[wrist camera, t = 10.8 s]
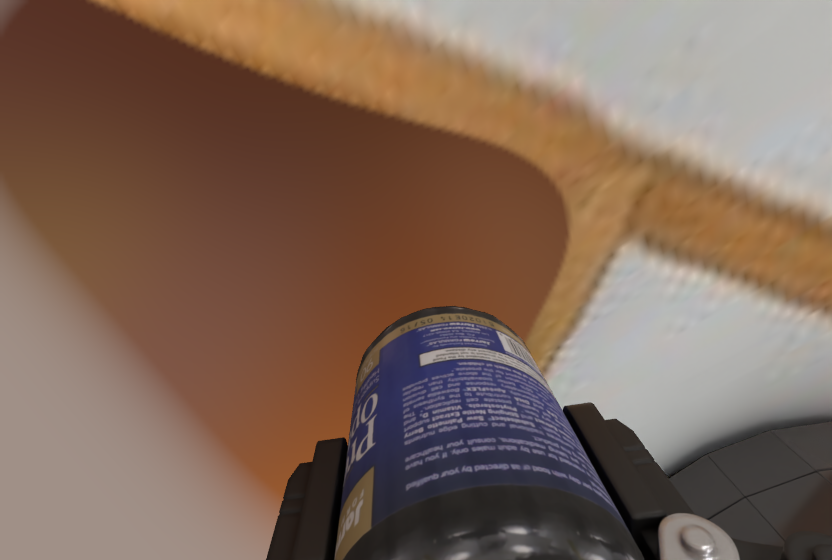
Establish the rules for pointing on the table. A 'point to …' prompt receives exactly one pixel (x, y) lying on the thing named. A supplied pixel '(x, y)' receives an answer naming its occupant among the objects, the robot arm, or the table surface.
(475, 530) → the pill bottle
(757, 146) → the table surface
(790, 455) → the pan
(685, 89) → the table surface
